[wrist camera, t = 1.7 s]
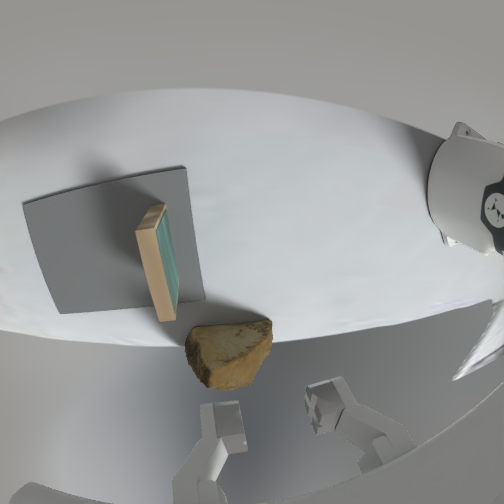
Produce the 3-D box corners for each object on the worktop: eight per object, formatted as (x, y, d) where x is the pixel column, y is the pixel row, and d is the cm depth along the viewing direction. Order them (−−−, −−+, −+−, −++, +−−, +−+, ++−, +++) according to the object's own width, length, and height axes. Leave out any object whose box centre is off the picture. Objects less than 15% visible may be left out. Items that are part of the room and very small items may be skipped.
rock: (296, 313, 30) (213, 299, 25) (298, 389, 26) (209, 389, 21) (248, 331, 38) (181, 321, 34) (248, 390, 34) (177, 386, 29)
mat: (186, 168, 24) (185, 168, 23) (205, 297, 29) (205, 299, 29) (24, 204, 21) (22, 205, 21) (61, 312, 27) (59, 314, 26)
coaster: (166, 203, 24) (154, 227, 18) (180, 278, 27) (176, 320, 21) (151, 205, 24) (135, 230, 18) (166, 280, 27) (159, 321, 21)
